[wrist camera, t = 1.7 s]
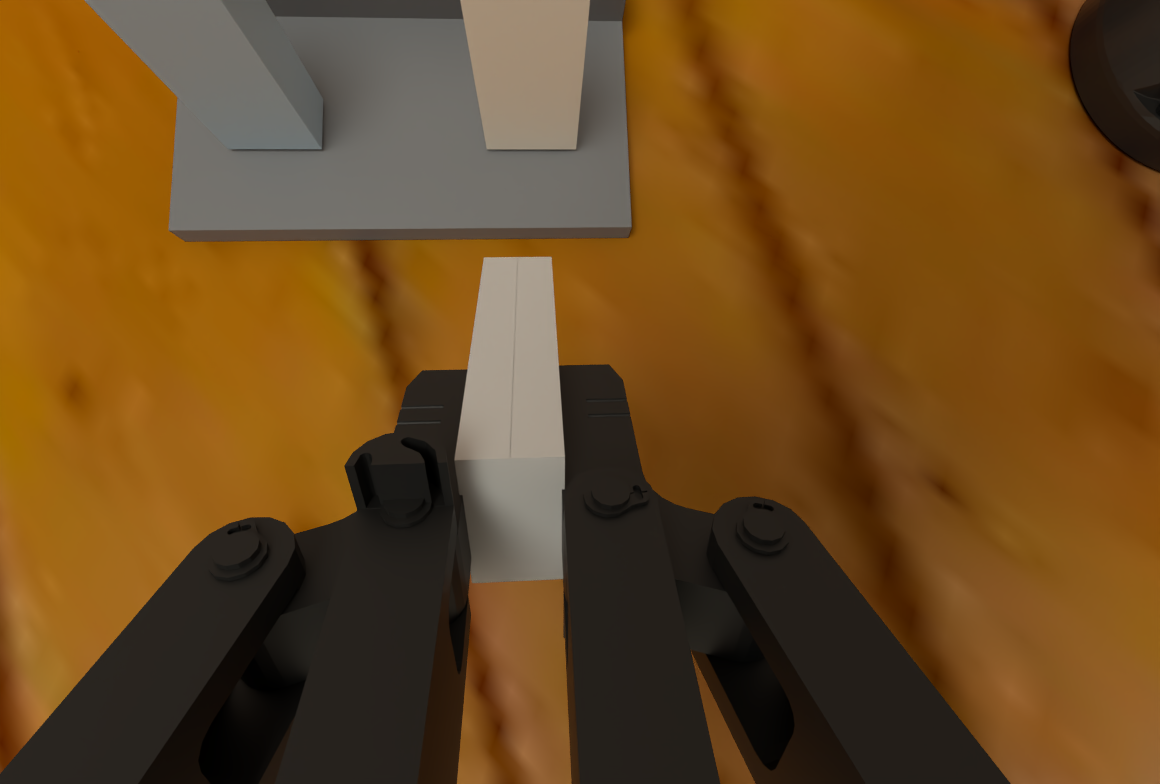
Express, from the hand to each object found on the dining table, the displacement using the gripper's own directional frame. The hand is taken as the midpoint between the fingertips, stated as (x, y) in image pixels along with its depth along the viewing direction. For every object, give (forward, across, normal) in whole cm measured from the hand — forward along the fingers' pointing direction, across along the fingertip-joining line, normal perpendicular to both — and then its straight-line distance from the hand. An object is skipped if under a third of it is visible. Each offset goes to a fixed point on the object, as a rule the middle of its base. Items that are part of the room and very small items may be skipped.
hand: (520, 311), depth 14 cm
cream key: (+24, 0, -1) cm, 24 cm away
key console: (+27, -7, -1) cm, 27 cm away
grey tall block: (+24, -14, -1) cm, 28 cm away
